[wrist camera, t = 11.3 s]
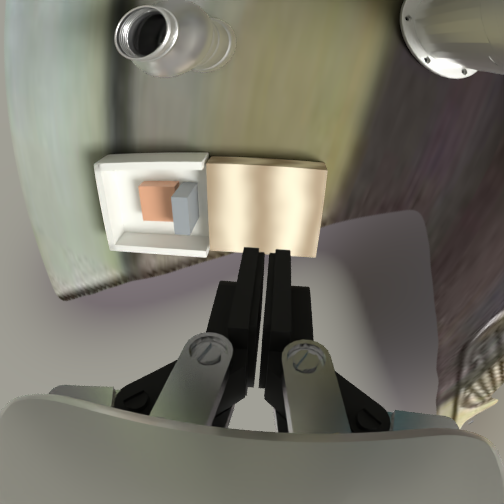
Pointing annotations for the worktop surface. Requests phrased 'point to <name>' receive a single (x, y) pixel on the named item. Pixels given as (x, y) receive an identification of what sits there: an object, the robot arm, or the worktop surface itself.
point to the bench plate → (265, 204)
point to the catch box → (129, 207)
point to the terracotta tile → (157, 200)
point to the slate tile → (185, 208)
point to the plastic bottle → (174, 39)
